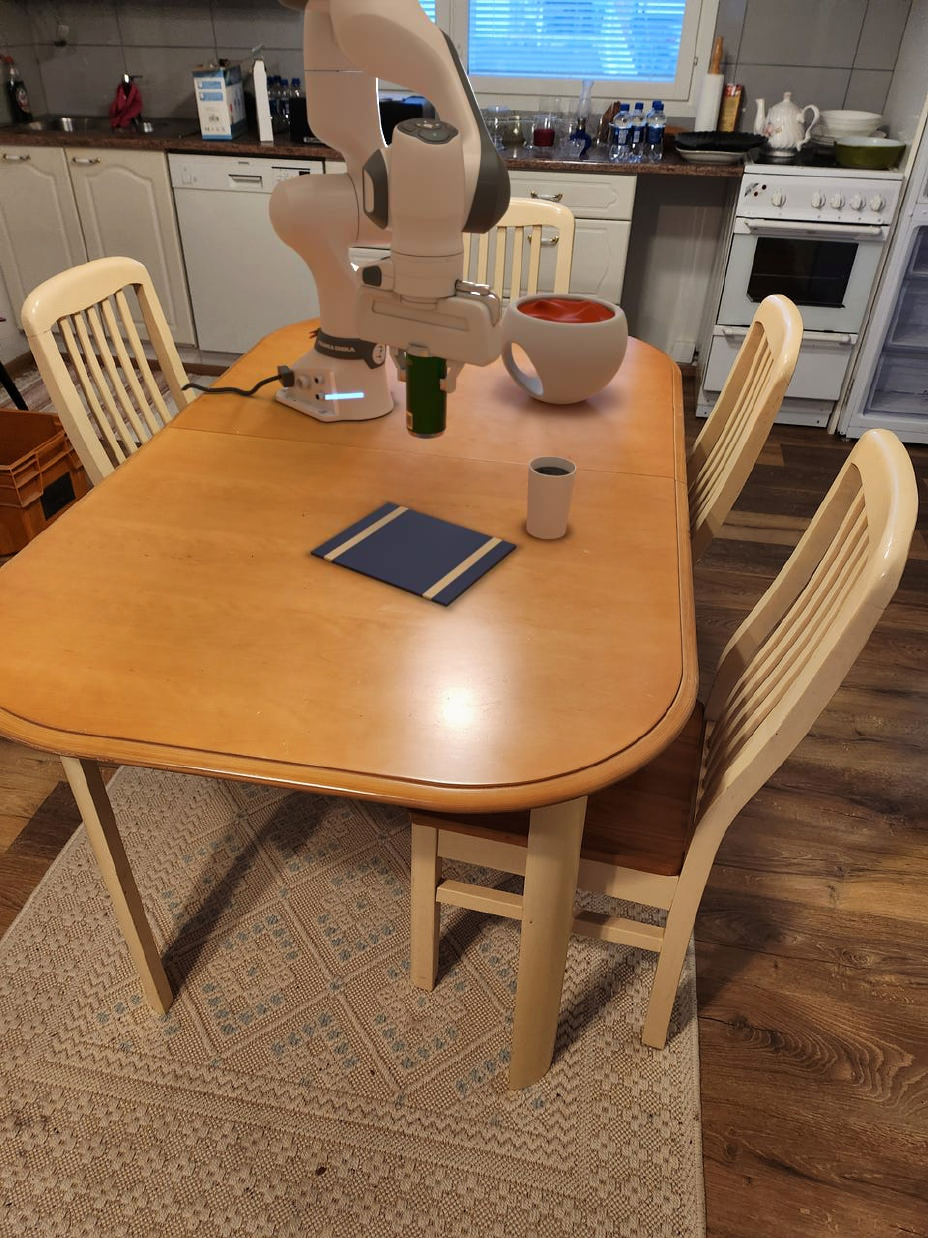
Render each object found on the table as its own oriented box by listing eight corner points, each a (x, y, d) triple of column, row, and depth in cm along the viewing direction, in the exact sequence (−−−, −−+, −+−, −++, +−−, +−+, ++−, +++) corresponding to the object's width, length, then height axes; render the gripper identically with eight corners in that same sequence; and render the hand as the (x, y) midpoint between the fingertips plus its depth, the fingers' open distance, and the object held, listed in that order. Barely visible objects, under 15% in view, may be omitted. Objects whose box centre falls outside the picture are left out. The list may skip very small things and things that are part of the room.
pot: (616, 425, 158) (631, 327, 148) (487, 412, 161) (492, 314, 151) (620, 381, 178) (633, 291, 168) (504, 370, 181) (510, 281, 171)
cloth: (310, 554, 117) (310, 551, 117) (388, 504, 130) (388, 501, 130) (446, 606, 108) (446, 603, 108) (516, 547, 121) (516, 544, 121)
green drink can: (419, 442, 113) (419, 350, 107) (398, 428, 117) (397, 339, 110) (453, 434, 116) (456, 344, 109) (432, 421, 120) (433, 333, 113)
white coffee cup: (538, 544, 122) (544, 479, 116) (514, 523, 127) (519, 460, 121) (577, 535, 124) (586, 471, 119) (553, 514, 129) (559, 452, 124)
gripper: (514, 282, 103) (507, 395, 111) (375, 258, 112) (378, 364, 119) (487, 293, 99) (482, 410, 106) (344, 266, 107) (349, 376, 115)
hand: (426, 385), depth 113 cm, fingers closed on green drink can, 5 cm apart
